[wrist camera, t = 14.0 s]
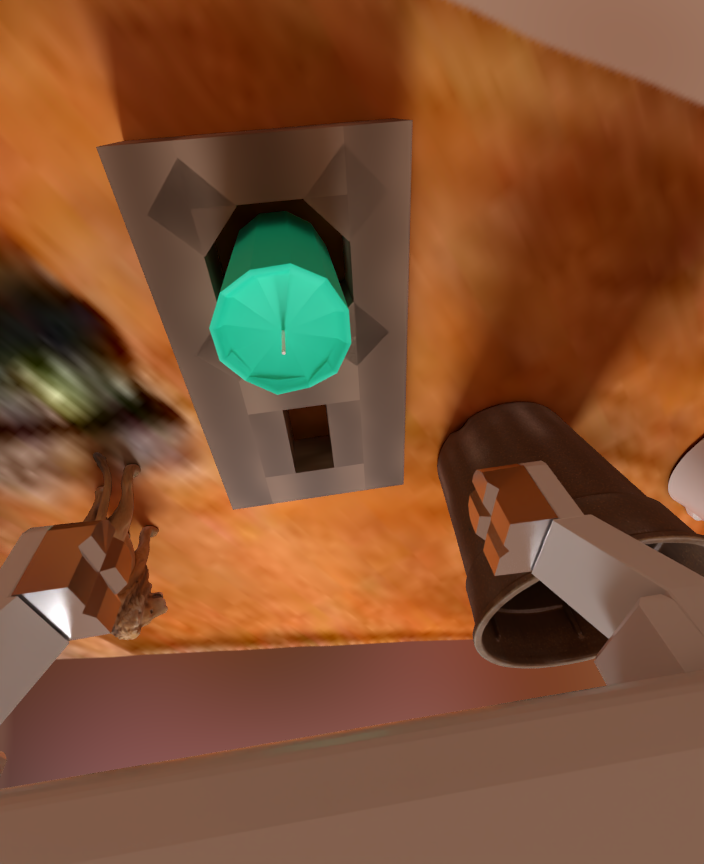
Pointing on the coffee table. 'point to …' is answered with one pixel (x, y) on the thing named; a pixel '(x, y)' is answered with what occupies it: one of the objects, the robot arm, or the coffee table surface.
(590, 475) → the plant pot
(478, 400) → the coffee table surface
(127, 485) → the lion figurine
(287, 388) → the candle
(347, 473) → the socket block
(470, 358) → the coffee table surface
